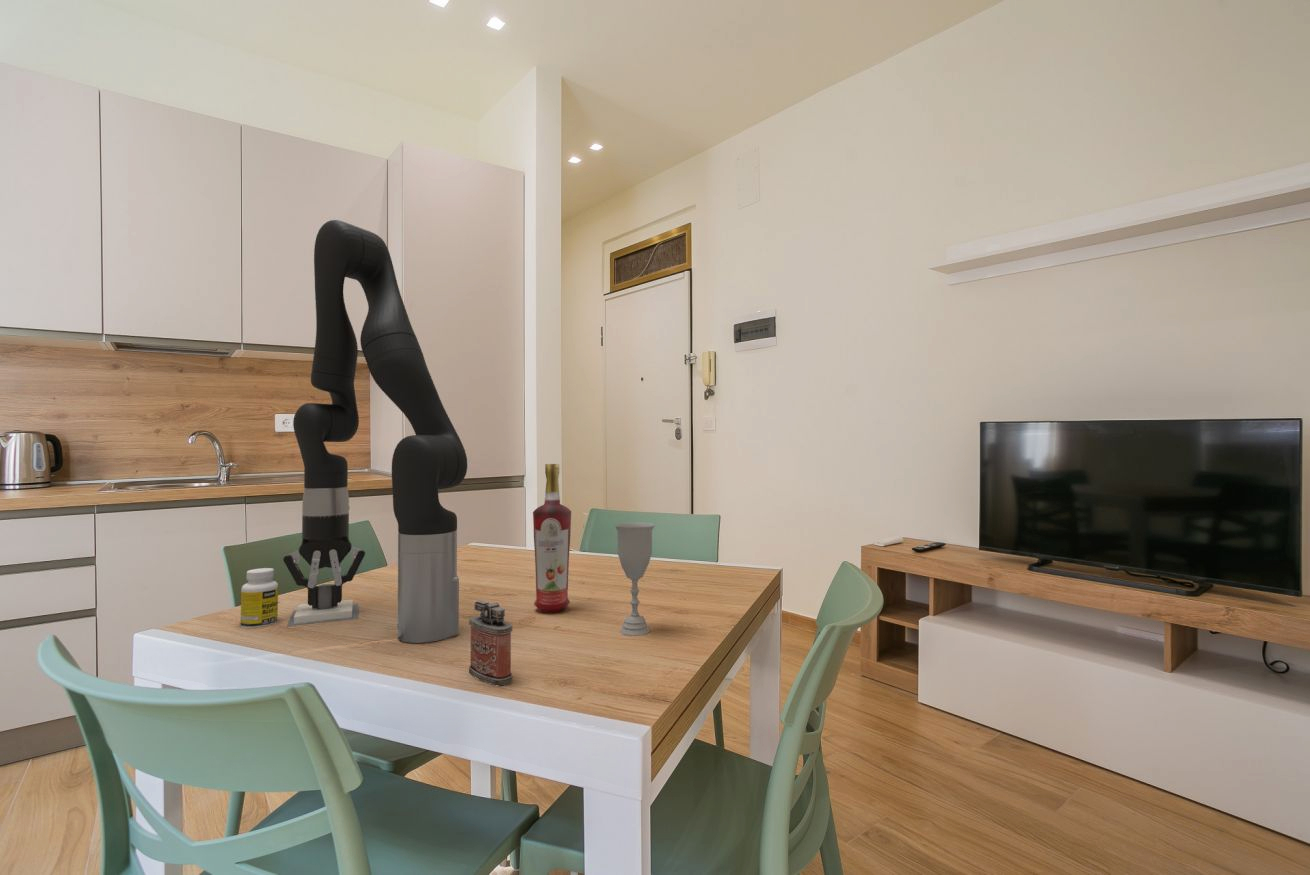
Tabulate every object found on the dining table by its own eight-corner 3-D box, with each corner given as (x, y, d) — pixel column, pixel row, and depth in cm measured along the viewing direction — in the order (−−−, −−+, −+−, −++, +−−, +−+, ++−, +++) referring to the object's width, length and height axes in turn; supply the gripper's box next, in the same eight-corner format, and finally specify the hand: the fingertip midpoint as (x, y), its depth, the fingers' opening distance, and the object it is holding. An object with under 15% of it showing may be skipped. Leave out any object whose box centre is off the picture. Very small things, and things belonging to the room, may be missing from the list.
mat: (358, 606, 117) (358, 603, 117) (358, 621, 107) (358, 618, 107) (293, 613, 112) (293, 610, 112) (286, 629, 102) (286, 626, 102)
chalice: (646, 639, 97) (646, 528, 98) (607, 635, 99) (607, 526, 100) (660, 626, 104) (660, 523, 104) (624, 622, 106) (624, 521, 107)
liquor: (572, 604, 119) (572, 463, 119) (569, 614, 112) (570, 464, 112) (535, 605, 118) (535, 463, 119) (530, 615, 111) (530, 464, 112)
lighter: (518, 680, 80) (518, 605, 80) (496, 688, 78) (496, 611, 78) (484, 666, 85) (484, 595, 86) (463, 672, 83) (463, 600, 83)
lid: (352, 605, 116) (353, 578, 116) (351, 617, 108) (352, 588, 108) (299, 611, 112) (299, 583, 112) (293, 623, 104) (294, 593, 104)
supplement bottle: (264, 631, 102) (264, 573, 102) (232, 631, 102) (233, 573, 102) (284, 621, 107) (285, 567, 107) (254, 621, 107) (255, 566, 107)
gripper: (278, 516, 104) (277, 616, 103) (368, 512, 110) (367, 606, 109) (283, 512, 110) (283, 606, 110) (368, 508, 116) (367, 597, 116)
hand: (325, 605), depth 110 cm, fingers closed on lid, 2 cm apart
